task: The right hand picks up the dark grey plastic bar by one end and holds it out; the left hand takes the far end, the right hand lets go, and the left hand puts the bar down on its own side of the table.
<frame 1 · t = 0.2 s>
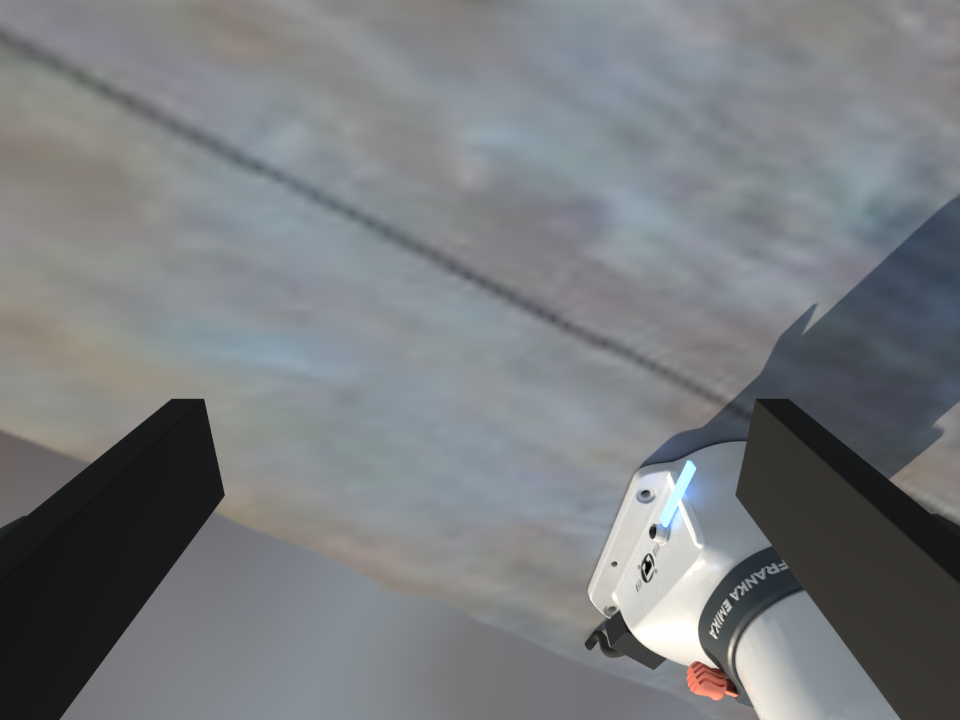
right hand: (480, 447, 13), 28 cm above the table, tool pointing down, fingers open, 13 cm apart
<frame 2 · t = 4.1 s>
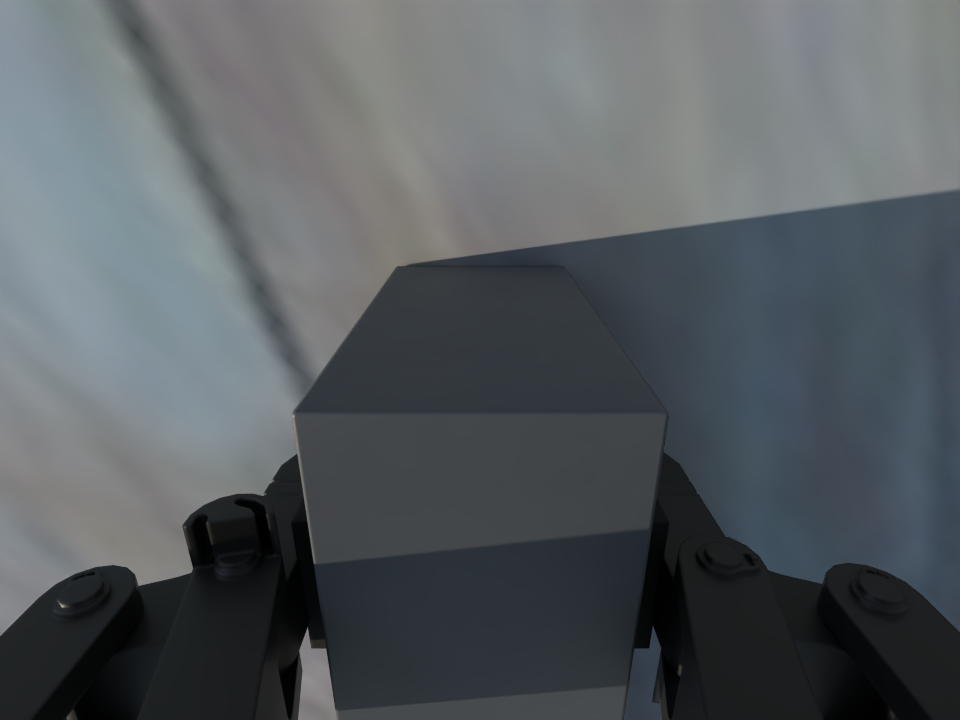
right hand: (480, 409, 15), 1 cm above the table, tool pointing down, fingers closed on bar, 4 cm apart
bar: (480, 623, 18), on the table, touching right hand
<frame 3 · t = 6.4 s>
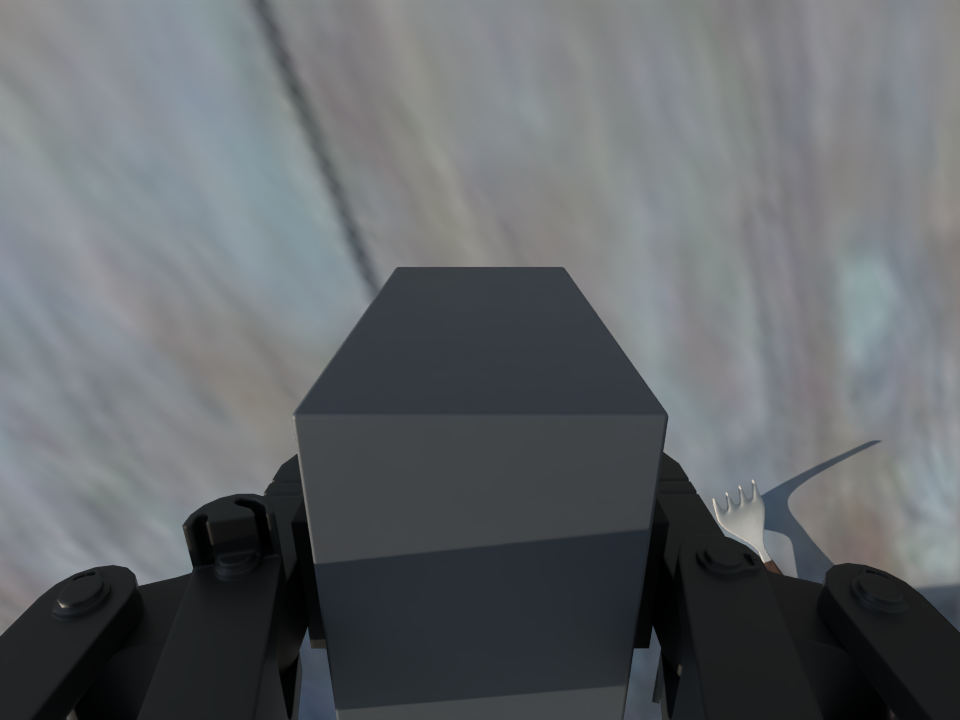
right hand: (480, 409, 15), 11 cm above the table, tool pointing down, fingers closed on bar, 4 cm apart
bar: (480, 624, 18), point 11 cm above the table, touching right hand
fork: (767, 564, 31), on the table
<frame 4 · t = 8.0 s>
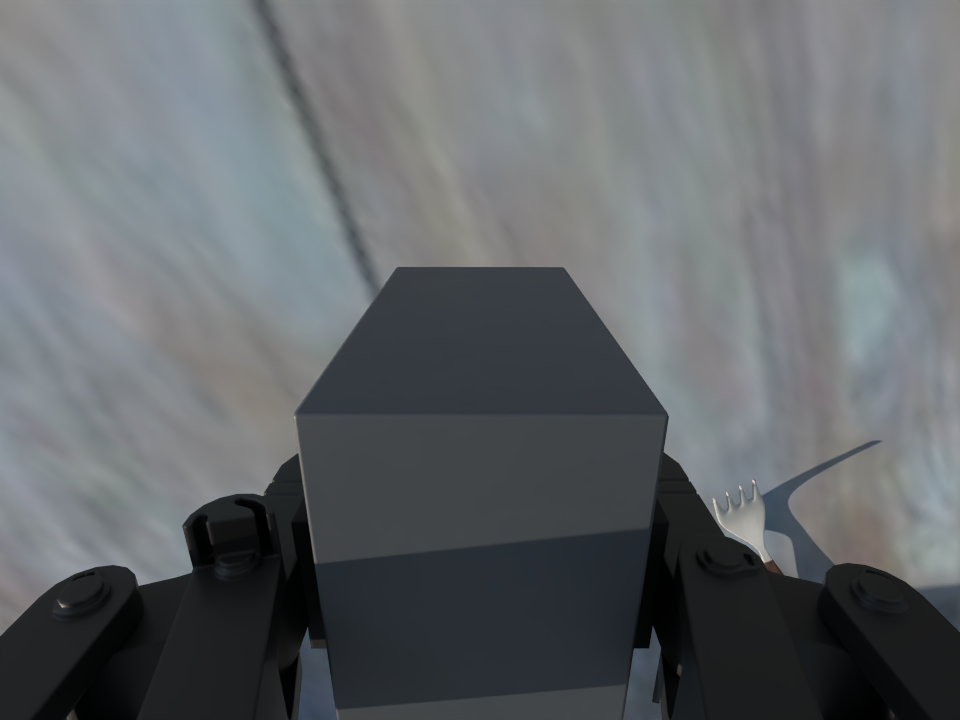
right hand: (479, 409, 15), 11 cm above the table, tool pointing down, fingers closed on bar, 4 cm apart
bar: (479, 624, 18), point 11 cm above the table, touching right hand, left hand
fork: (768, 564, 31), on the table
when the right hand's fingers open (11 cm above the table, at t = 8.9 s): bar stays where it is, held by the left hand.
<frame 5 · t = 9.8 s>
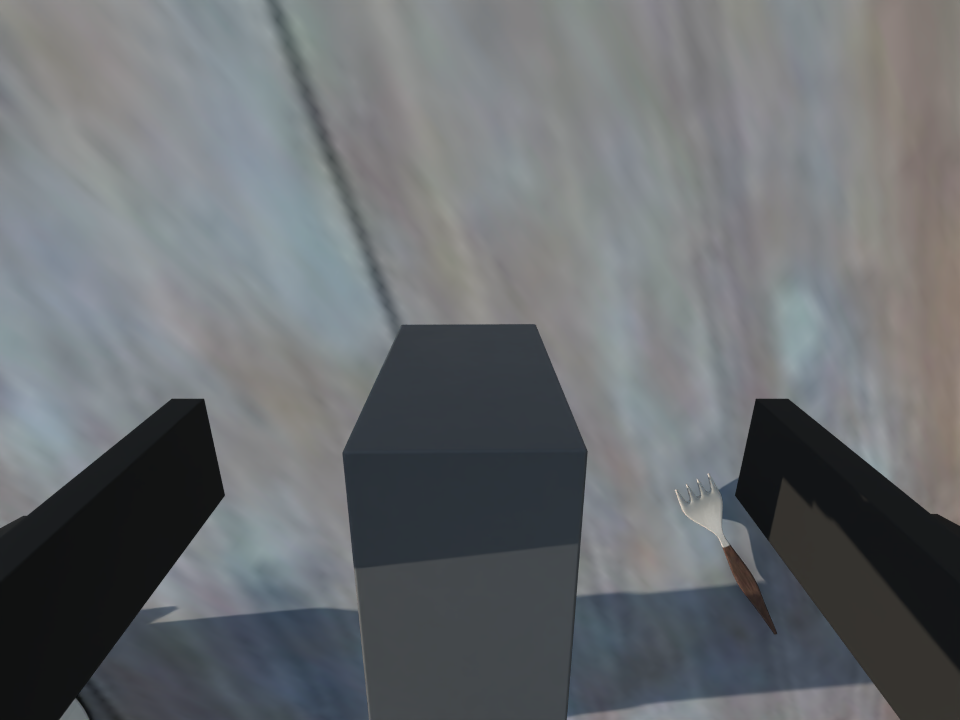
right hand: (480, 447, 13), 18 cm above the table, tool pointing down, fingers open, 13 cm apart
bar: (470, 622, 21), point 13 cm above the table, touching left hand
fork: (727, 549, 36), on the table
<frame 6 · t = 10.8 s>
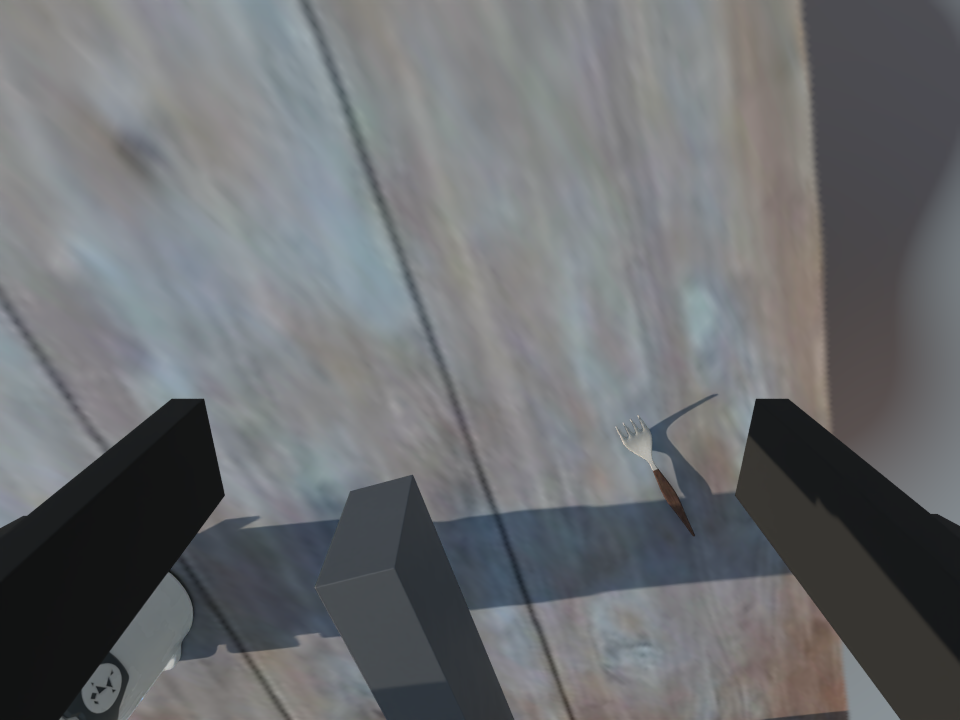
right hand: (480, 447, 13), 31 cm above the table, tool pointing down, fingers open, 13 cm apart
bar: (442, 619, 39), point 13 cm above the table, touching left hand
fork: (657, 473, 50), on the table
when the left hand's fingers open (4 cm above the table, at t = 13.7 s): bar stays where it is, on the table.
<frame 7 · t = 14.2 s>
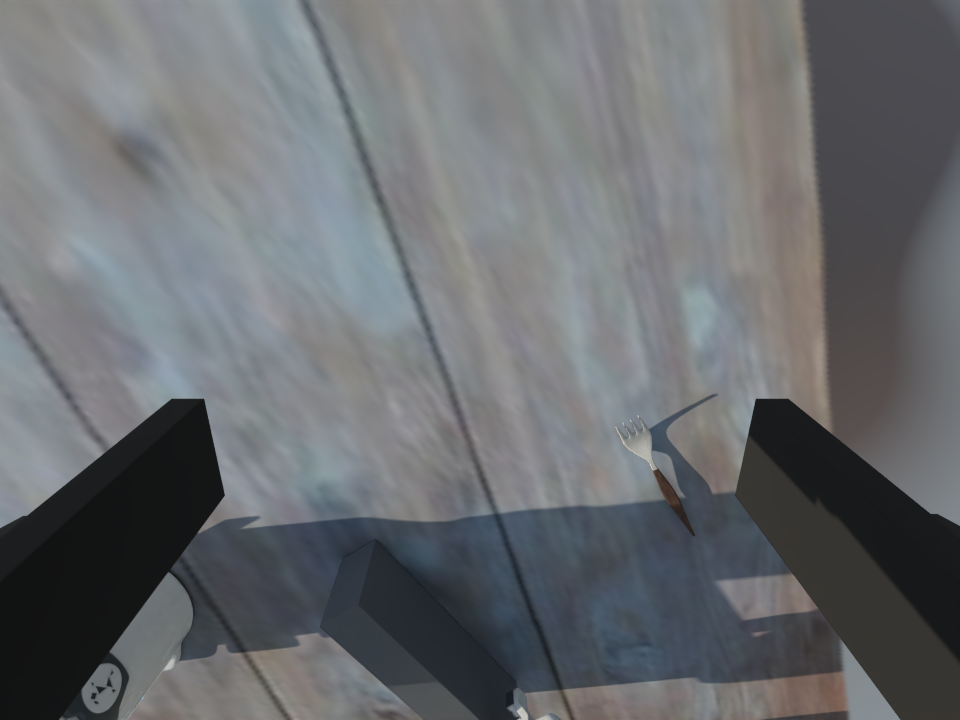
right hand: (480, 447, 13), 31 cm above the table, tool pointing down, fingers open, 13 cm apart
bar: (434, 624, 57), on the table
fork: (657, 473, 50), on the table
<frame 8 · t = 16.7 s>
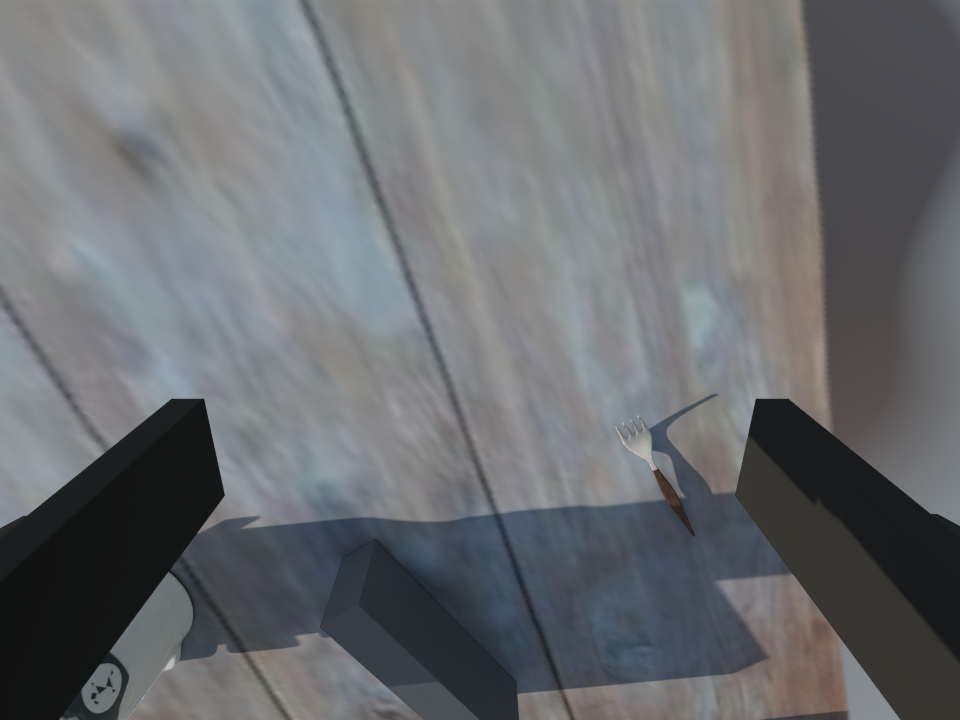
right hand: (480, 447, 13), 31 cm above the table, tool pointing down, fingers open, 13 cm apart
bar: (434, 624, 57), on the table
fork: (657, 473, 50), on the table
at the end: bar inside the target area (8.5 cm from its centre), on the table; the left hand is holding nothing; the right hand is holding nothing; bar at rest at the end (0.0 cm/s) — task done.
